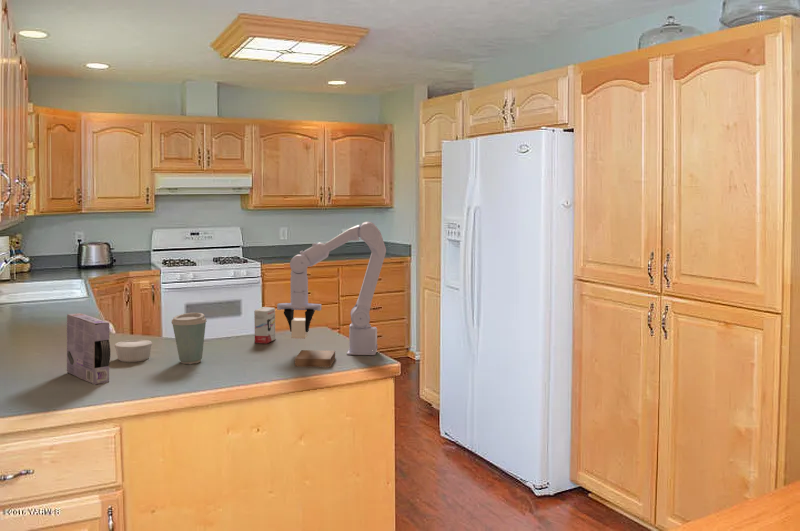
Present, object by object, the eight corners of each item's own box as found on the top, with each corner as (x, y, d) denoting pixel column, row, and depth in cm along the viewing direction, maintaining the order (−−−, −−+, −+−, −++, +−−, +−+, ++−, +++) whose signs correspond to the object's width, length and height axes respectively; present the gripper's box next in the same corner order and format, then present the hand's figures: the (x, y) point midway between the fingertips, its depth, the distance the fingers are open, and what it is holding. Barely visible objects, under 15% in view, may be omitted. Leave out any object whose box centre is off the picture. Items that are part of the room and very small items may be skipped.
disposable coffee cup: (193, 367, 214) (192, 319, 213) (164, 363, 218) (163, 316, 216) (214, 359, 224) (213, 313, 223) (186, 356, 228) (185, 311, 226)
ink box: (266, 344, 247) (266, 311, 246) (253, 343, 248) (253, 310, 247) (275, 338, 256) (275, 307, 254) (263, 338, 257) (263, 306, 255)
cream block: (307, 335, 236) (307, 318, 235) (304, 338, 231) (304, 320, 231) (294, 335, 236) (294, 317, 235) (291, 338, 232) (291, 320, 231)
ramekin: (143, 353, 232) (142, 337, 232) (158, 359, 224) (158, 343, 224) (109, 358, 224) (108, 342, 224) (124, 365, 216) (123, 348, 216)
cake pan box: (113, 382, 197) (111, 320, 195) (95, 386, 193) (93, 323, 192) (83, 370, 210) (80, 312, 208) (65, 373, 206) (63, 314, 204)
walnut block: (335, 359, 228) (335, 350, 227) (330, 368, 217) (330, 359, 216) (301, 359, 228) (301, 350, 228) (295, 367, 217) (294, 358, 217)
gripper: (323, 289, 235) (323, 329, 237) (280, 288, 236) (280, 328, 238) (319, 292, 228) (319, 333, 230) (275, 292, 229) (275, 332, 231)
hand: (299, 331), depth 233 cm, fingers closed on cream block, 4 cm apart
